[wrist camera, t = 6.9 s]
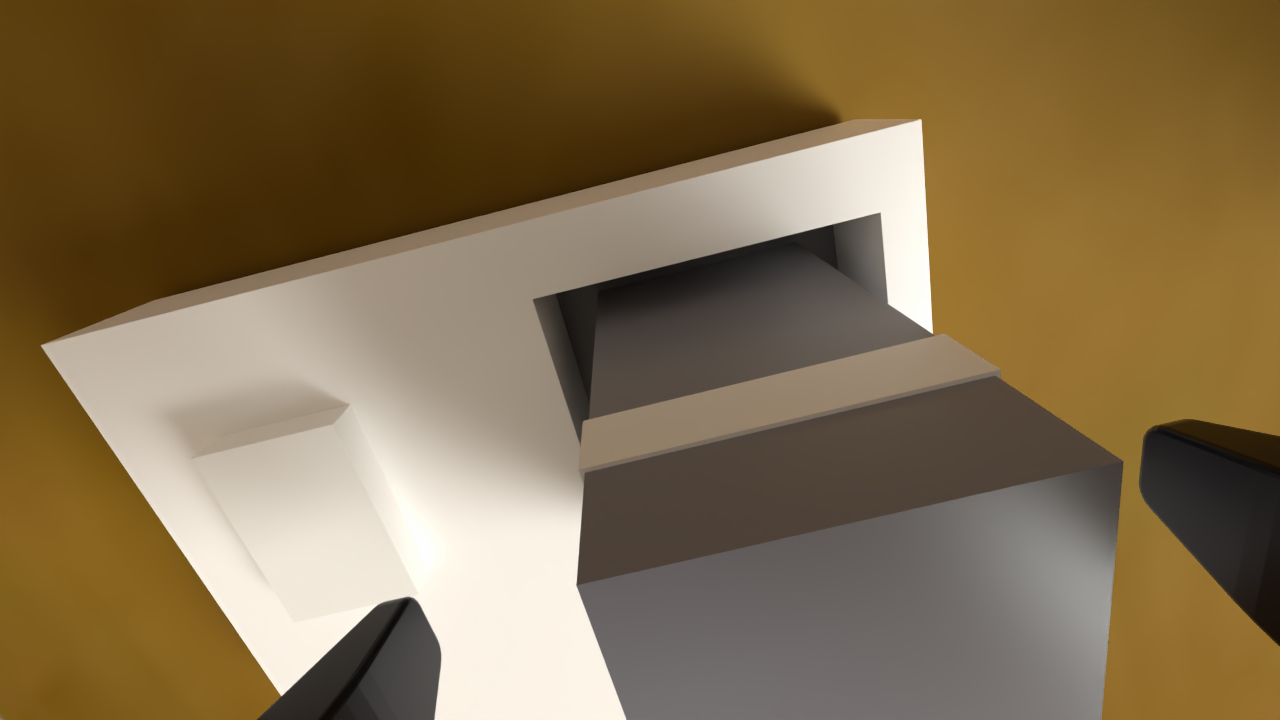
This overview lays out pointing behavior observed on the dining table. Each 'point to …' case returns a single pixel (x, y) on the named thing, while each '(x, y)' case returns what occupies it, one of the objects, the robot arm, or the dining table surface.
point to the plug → (831, 511)
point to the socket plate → (453, 405)
